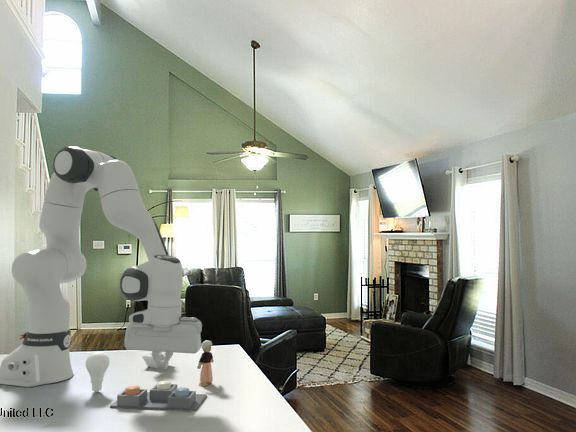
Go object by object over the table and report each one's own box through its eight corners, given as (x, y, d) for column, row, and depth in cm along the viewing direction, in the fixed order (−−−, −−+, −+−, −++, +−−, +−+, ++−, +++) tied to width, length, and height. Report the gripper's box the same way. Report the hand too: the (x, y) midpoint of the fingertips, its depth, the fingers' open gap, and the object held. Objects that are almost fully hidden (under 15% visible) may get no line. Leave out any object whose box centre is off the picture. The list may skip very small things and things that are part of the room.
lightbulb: (84, 390, 131) (86, 350, 131) (108, 387, 133) (109, 348, 134) (84, 397, 125) (85, 355, 126) (109, 394, 128) (110, 353, 128)
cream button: (154, 396, 123) (154, 384, 123) (159, 391, 127) (159, 380, 127) (168, 396, 123) (168, 385, 123) (172, 392, 126) (172, 381, 127)
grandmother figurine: (207, 388, 134) (208, 343, 135) (195, 387, 135) (196, 342, 135) (217, 380, 141) (217, 337, 142) (205, 379, 142) (205, 337, 143)
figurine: (174, 363, 160) (175, 319, 161) (158, 370, 151) (159, 323, 152) (156, 361, 162) (157, 317, 163) (139, 368, 153) (140, 322, 154)
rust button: (122, 402, 119) (122, 389, 119) (128, 397, 122) (128, 385, 122) (136, 402, 118) (136, 390, 119) (141, 397, 122) (142, 386, 122)
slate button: (172, 403, 118) (172, 391, 118) (177, 399, 121) (177, 387, 121) (186, 404, 117) (186, 392, 118) (190, 399, 121) (191, 387, 121)
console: (110, 407, 118) (110, 395, 118) (128, 393, 129) (128, 382, 129) (195, 411, 116) (196, 398, 116) (206, 396, 127) (207, 385, 127)
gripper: (205, 315, 128) (203, 367, 127) (133, 312, 130) (130, 362, 129) (198, 319, 122) (196, 373, 121) (123, 315, 123) (120, 369, 123)
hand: (161, 368), depth 125 cm, fingers closed
